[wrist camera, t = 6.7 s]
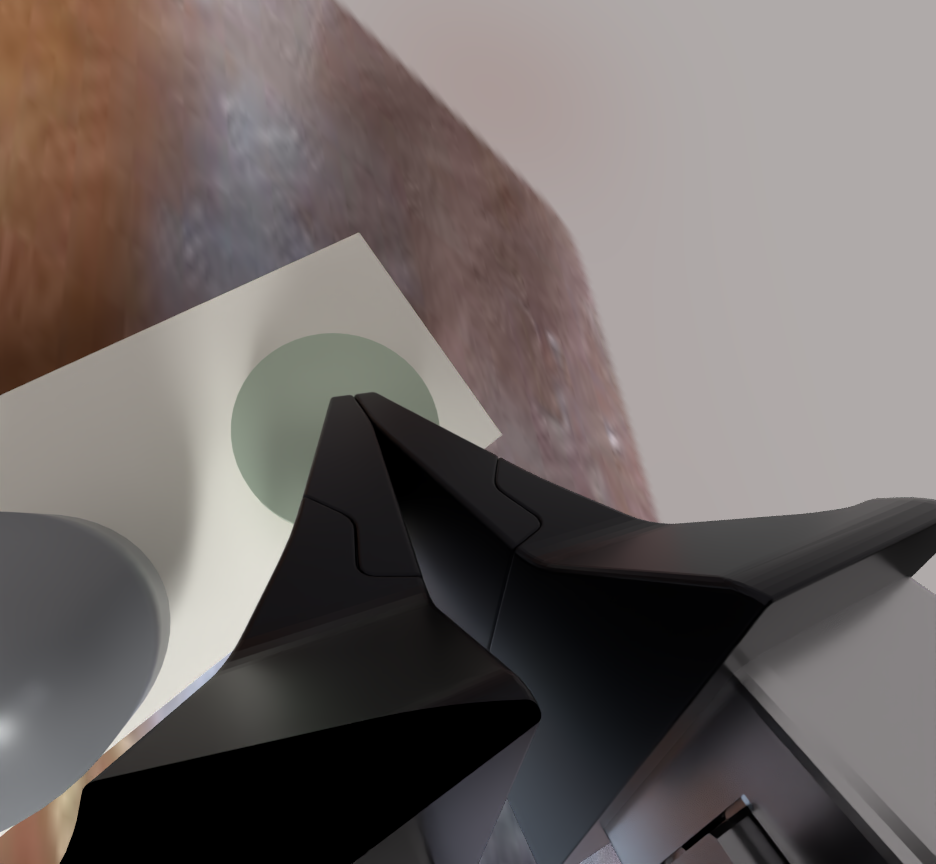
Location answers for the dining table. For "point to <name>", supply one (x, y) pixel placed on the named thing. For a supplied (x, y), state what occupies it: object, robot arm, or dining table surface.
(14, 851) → the dining table surface
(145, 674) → the grey button
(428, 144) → the dining table surface
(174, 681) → the button bar
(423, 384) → the sage button
